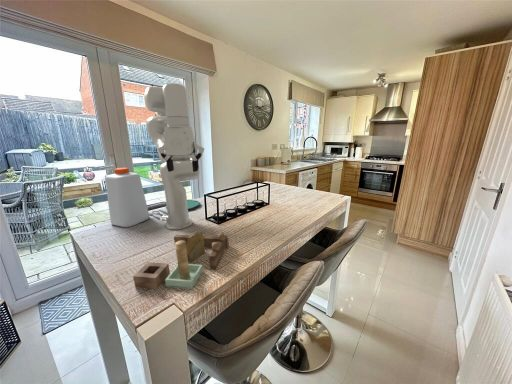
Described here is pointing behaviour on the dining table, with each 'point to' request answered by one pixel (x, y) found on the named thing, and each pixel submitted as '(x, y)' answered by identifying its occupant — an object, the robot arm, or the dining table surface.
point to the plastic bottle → (126, 198)
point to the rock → (195, 247)
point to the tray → (176, 282)
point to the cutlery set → (190, 204)
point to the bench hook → (210, 246)
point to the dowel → (182, 260)
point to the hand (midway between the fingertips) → (183, 171)
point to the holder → (151, 275)
